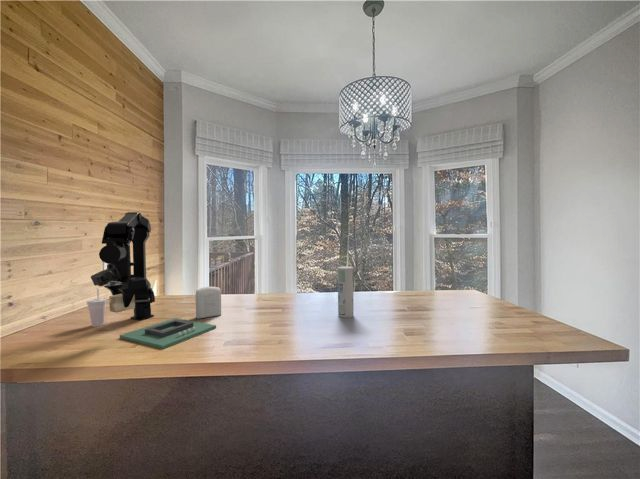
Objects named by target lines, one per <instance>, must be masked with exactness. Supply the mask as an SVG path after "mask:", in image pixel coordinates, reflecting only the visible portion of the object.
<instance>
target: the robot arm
mask: <svg viewBox="0 0 640 479" xmlns="http://www.w3.org/2000/svg"><path fill="white" fill-rule="evenodd" d="M103 229H104V231H103V234H102V239H101V244H102V245H104V244H105V246H103V247H102V248H101V249H100V250H99V252H98V256H99V259H100V260H101V262H103V263H105V264H107V265H106V269H103V270H101V271H99V272H96V273H95V274H92V275H90V279H91V281H92V283H93V285H94V286H95V287H96V286H98V287H104V288H105V289H107V290H109V291H110V293H111V296H113V295H118V294H122V296H123V303H124V307H125V308H126V307H128V306H129V304H130V302H131V300H132V298H133V296H134V294H135V308H134V309H133V316H130V319H133V320H138V321H141V320H145V319H149V318H153V317H154V316H155V314H152V306H151V304H152V303H154V302H156V297H155V293H154V292H155V291H154V290H153V288H152V284H151V282H150V281H149V280H148V278H147V265H146V264H147V263H146V262H147V259H146V256H147V253H146V243H147V241H148V239H149V238H150V233H151V231H152V226H151V223H150V221H149V218H147V217H145V216H143V215H142V213H141V212H139V211H135V212H133V211H132V212H131V211H129V212H125V214H124V215H123V217H121V218H120V219H119V220H118V221H110V222H107V224H106V226H105V227H104V228H103ZM131 243H132V258H131ZM131 260H132V262H131ZM132 267H133V268H132ZM132 270H133V272H132Z"/></svg>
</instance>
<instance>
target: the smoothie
mask: <svg viewBox="0 0 640 479" xmlns="http://www.w3.org/2000/svg"><path fill="white" fill-rule="evenodd" d="M96 295H97V296H96V298H93V299H89V300H87V301H86V305H87V307H88V312H89V318H90V322H91V326H92V328H95V327H96V328H97V327H101V326H104V324H105V316H106V307H107V306H106V305H107V304H106V303H107V302H108V299H107V298H100V289H99V288H96Z"/></svg>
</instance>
